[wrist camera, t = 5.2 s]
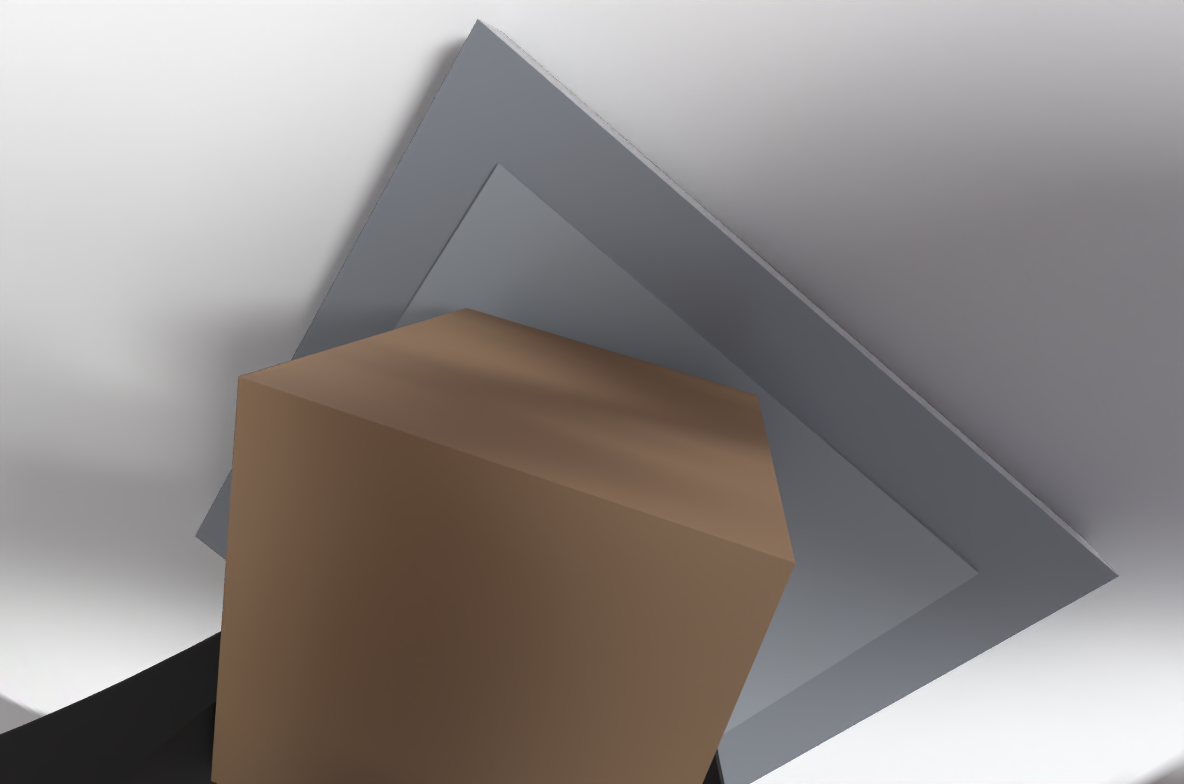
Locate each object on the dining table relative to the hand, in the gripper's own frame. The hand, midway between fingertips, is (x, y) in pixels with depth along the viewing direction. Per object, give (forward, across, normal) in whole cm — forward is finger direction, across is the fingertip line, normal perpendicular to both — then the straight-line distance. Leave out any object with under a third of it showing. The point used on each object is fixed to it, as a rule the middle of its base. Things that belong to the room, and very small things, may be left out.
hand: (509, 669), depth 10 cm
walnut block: (+2, 0, -2) cm, 3 cm away
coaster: (+4, 0, 0) cm, 4 cm away
